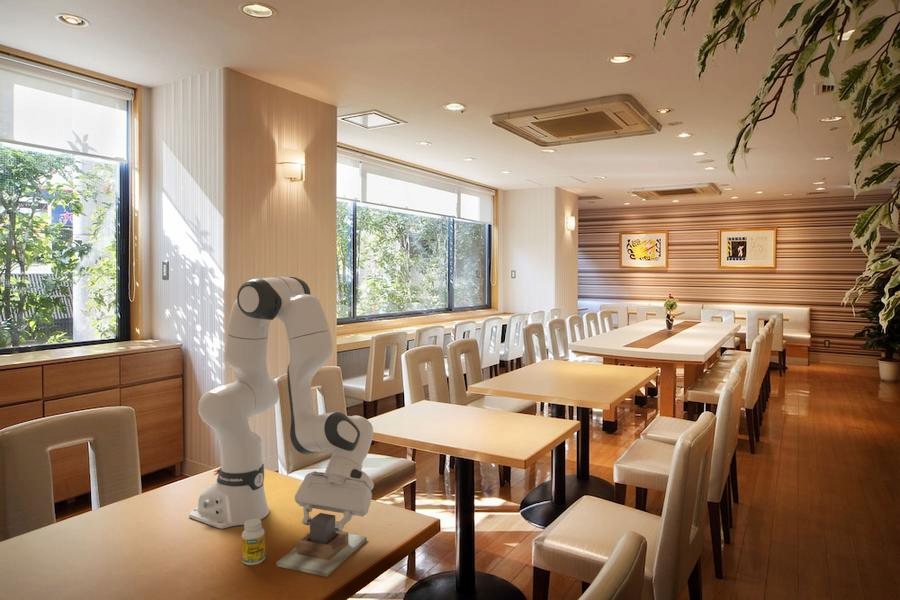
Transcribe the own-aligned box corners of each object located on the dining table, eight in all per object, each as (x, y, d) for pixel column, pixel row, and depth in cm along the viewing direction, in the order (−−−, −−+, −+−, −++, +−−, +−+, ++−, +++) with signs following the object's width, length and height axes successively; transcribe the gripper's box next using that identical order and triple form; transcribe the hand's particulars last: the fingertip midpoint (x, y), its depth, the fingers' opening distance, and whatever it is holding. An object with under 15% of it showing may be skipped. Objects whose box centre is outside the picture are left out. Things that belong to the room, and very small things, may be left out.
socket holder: (276, 566, 139) (276, 549, 139) (320, 532, 157) (320, 517, 156) (326, 576, 134) (326, 560, 134) (366, 540, 152) (366, 525, 151)
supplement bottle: (262, 552, 145) (261, 515, 145) (268, 561, 141) (267, 523, 140) (239, 558, 142) (238, 520, 142) (245, 568, 138) (244, 528, 137)
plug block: (310, 551, 144) (309, 520, 143) (320, 543, 148) (320, 512, 148) (326, 554, 142) (325, 522, 142) (335, 546, 147) (335, 515, 146)
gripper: (303, 465, 154) (281, 515, 146) (371, 474, 147) (352, 528, 139) (313, 475, 159) (292, 525, 150) (379, 485, 152) (361, 538, 143)
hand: (321, 527), depth 144 cm, fingers open, 8 cm apart
